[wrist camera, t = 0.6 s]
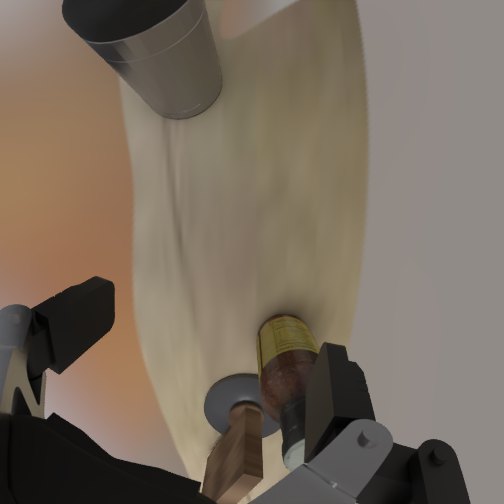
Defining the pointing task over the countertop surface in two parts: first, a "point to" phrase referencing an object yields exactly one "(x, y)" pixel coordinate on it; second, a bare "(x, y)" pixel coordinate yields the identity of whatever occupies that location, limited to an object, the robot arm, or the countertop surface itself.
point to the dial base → (235, 401)
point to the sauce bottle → (286, 380)
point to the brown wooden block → (236, 457)
